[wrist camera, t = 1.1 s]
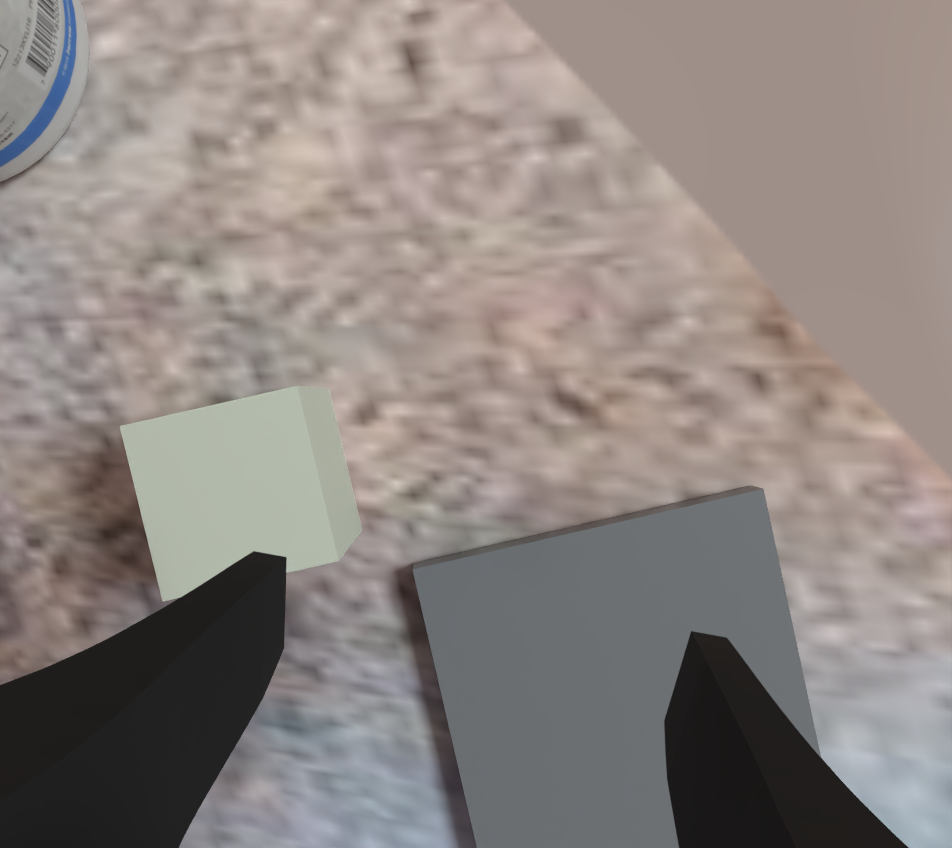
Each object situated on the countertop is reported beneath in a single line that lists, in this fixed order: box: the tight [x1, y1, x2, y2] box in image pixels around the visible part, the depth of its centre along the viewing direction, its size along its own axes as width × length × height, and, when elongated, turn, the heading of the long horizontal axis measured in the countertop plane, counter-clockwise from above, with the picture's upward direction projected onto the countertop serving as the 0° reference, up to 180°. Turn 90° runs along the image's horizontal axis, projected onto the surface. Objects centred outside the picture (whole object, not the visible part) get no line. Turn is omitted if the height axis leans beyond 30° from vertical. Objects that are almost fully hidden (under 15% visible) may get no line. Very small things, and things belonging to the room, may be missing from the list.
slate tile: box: [412, 486, 821, 848], centre depth 25 cm, size 12×12×1 cm
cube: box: [120, 386, 362, 601], centre depth 23 cm, size 5×5×5 cm
